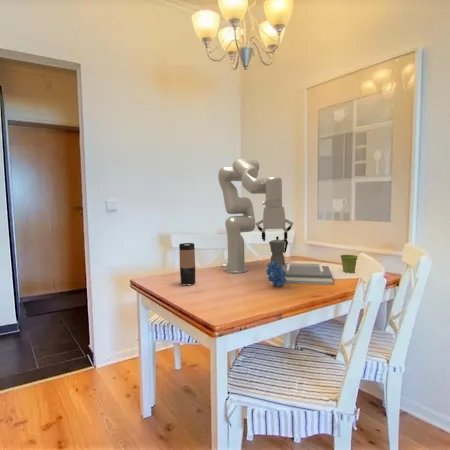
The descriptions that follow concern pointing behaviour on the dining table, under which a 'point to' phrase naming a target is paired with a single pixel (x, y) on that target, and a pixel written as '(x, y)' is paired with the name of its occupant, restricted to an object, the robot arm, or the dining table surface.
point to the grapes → (276, 274)
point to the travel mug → (187, 263)
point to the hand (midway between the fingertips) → (274, 240)
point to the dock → (307, 273)
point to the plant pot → (348, 262)
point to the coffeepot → (278, 250)
